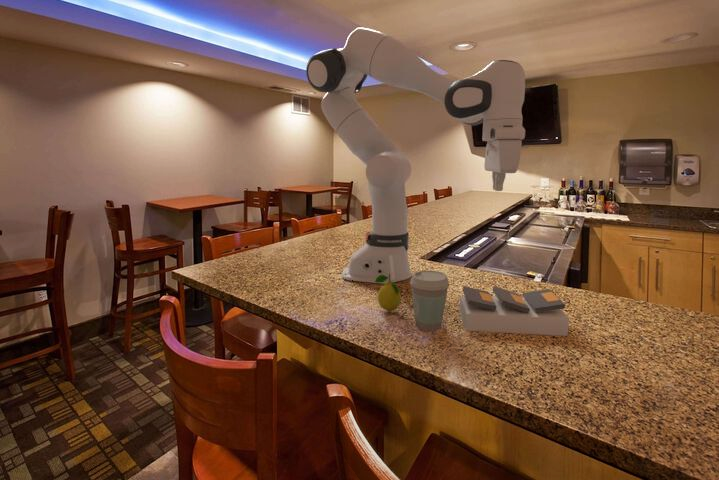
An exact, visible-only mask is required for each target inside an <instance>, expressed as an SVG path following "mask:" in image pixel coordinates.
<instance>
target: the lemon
mask: <svg viewBox="0 0 719 480" xmlns="http://www.w3.org/2000/svg"><path fill="white" fill-rule="evenodd" d="M387 279H388V277H386V276H384V275H380V276H378V277H377V279H376V281H375V282H377V283H376V284H381V283H380V282H384V281H387ZM379 288H380V289H379V290H378V296H377V300H378V304H379V306H380V307H381V308H382V309H383V310H385V311H386V312H388V313H392V311H394V310H397V309H398V307H399V306H400V305H401V300H402V299H401V297H403V295H402V293H401V291H400V288H399V287H398V286H397V284H396V282H394V283H393V282H390V274H389V282H388V283H387V284H383V285H382V286H381V287H379Z"/></svg>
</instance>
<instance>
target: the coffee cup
mask: <svg viewBox="0 0 719 480" xmlns="http://www.w3.org/2000/svg"><path fill="white" fill-rule="evenodd" d="M410 278H411V279H410V282H409V284H410V286H411V291H412V292H411V293H412V302H413V304H412V305H413V314H414V323H415V327H416V328H417V329H418V330H420V331H424V332H437V331H439V330H441V328H442V327H443V318H444V315H445V307H446V301H447V293H448V288H449V287H450V281H449V279H448V275H447V274H445V273H444V272H441V271H436V270H419V271H415V272H414V273H413V274H412V276H411V277H410Z"/></svg>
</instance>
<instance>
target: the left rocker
mask: <svg viewBox="0 0 719 480" xmlns="http://www.w3.org/2000/svg"><path fill="white" fill-rule="evenodd" d="M462 292H463V295H465V298H466V300H467V303H468V304H469V305H473V306H477V307H482V308H486V309H490V310H494V311H495V310H496V307H497V306H496V305H495V303H494V301H493V299H492V297H493V296H492V295H491V294H490V293H489V291H487V290H482V289H478V288H474V287H470V286H464V285H463V286H462Z"/></svg>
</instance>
